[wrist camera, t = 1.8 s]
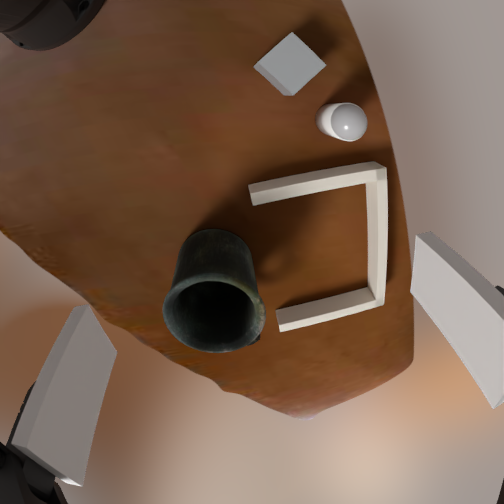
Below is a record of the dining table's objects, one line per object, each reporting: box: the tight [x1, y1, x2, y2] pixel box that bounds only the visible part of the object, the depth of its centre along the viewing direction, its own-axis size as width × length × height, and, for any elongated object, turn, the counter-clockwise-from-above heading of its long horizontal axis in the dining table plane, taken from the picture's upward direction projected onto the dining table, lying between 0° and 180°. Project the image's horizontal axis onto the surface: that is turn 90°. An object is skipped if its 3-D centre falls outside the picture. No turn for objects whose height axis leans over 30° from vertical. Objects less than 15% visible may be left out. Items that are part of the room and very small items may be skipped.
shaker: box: [315, 103, 367, 141], centre depth 29 cm, size 4×4×9 cm
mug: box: [163, 229, 266, 353], centre depth 37 cm, size 11×15×12 cm
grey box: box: [254, 32, 326, 95], centre depth 28 cm, size 5×5×5 cm
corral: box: [248, 161, 388, 332], centre depth 40 cm, size 22×17×4 cm
